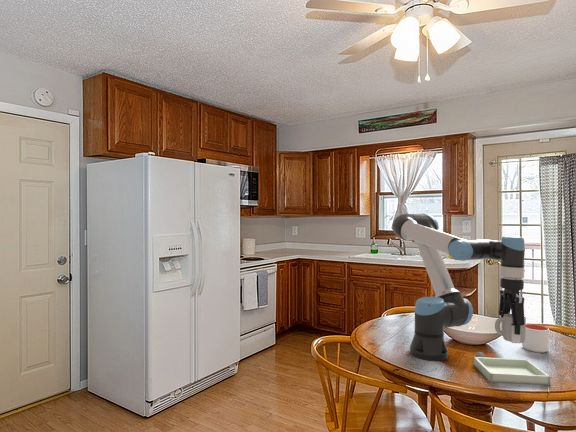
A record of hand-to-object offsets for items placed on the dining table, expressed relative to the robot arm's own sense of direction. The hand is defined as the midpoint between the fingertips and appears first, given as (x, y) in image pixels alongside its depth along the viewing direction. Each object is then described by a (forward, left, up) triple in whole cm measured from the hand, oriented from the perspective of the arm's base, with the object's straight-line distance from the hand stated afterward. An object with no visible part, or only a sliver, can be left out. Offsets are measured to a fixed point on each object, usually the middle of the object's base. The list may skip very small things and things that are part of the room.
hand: (510, 339), depth 146 cm
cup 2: (+24, +30, -13) cm, 40 cm away
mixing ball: (-6, +12, -11) cm, 17 cm away
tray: (0, 0, -13) cm, 13 cm away
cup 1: (0, 0, 0) cm, 1 cm away
